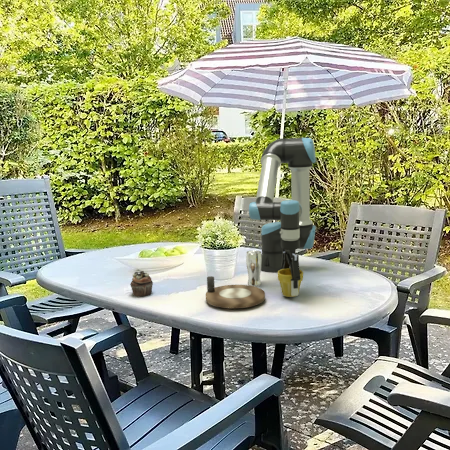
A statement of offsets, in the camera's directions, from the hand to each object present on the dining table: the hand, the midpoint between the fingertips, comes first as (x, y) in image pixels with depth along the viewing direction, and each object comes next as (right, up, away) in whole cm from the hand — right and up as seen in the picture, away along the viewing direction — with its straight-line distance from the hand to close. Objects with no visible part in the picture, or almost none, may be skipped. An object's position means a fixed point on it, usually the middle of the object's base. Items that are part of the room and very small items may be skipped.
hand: (290, 291), depth 196 cm
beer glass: (-14, 0, +19) cm, 23 cm away
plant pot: (0, -2, 0) cm, 2 cm away
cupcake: (-63, -3, +10) cm, 64 cm away
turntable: (-23, -2, -3) cm, 23 cm away
